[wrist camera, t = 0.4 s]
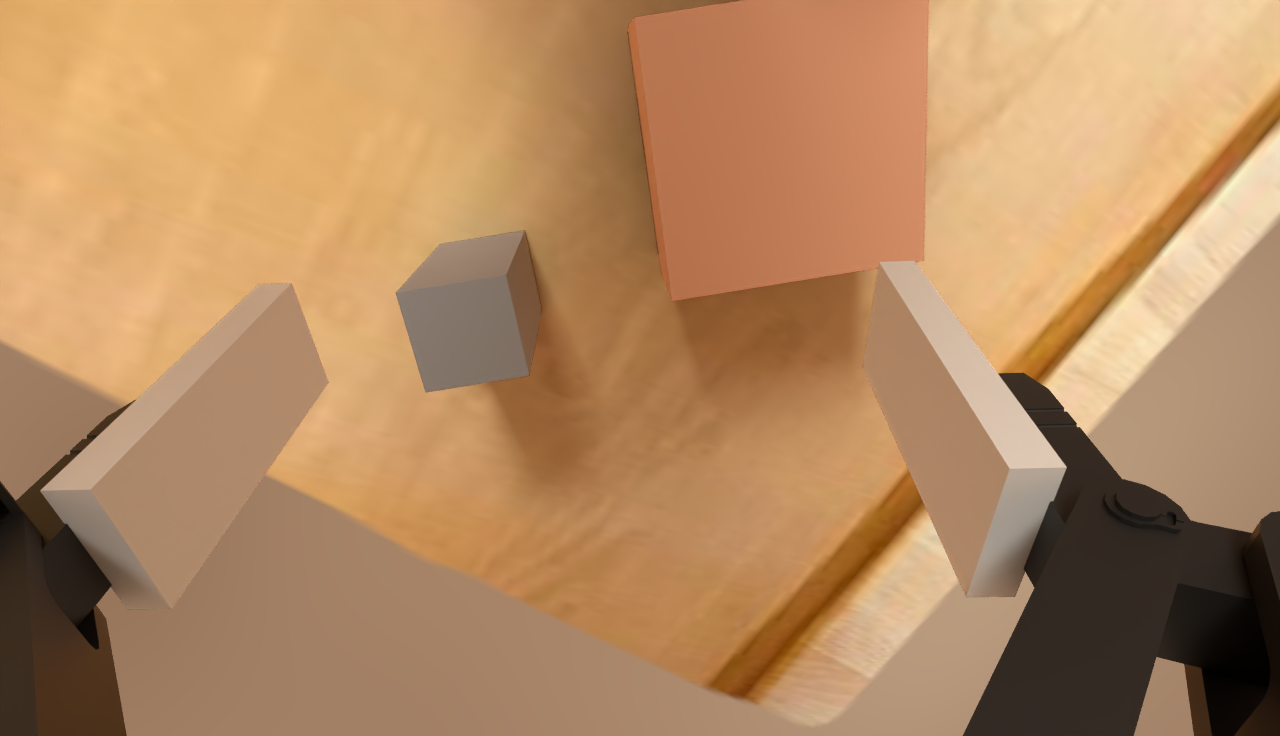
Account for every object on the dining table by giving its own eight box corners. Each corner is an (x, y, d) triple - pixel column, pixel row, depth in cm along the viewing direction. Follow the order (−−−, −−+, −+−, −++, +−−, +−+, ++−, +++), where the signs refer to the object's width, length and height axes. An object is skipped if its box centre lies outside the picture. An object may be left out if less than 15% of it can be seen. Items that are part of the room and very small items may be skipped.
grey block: (440, 244, 40) (395, 292, 31) (524, 230, 40) (505, 275, 31) (461, 324, 42) (425, 392, 33) (542, 311, 42) (529, 375, 33)
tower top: (627, 26, 32) (634, 17, 27) (880, -14, 32) (929, -30, 27) (661, 273, 37) (671, 301, 32) (881, 238, 37) (923, 260, 32)
